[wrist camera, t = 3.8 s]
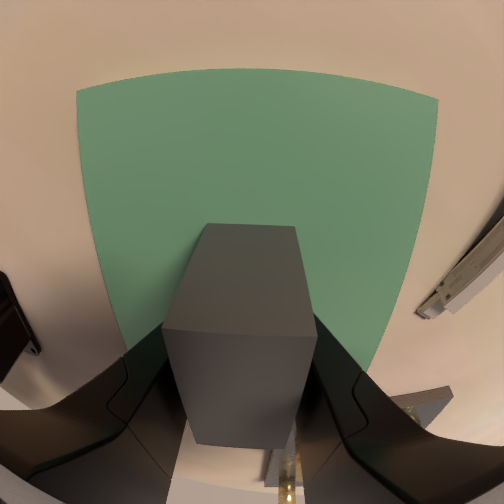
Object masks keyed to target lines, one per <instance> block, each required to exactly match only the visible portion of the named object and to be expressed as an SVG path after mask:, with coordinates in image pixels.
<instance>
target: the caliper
mask: <svg viewBox="0 0 504 504" xmlns="http://www.w3.org/2000/svg"><path fill="white" fill-rule="evenodd" d="M503 270H504V215H503V216H502V217H501V218H500V219H499V220H498V221H497V222H496V224H495V225H494V226H493V227H492V228H491V229H490V230H489V231H488V232H487V233H486V234H485V236H484V237H483V238H482V239H481V240H480V241H479V242H478V243H477V244H476V245H475V246H474V247H473V248H472V249H471V250H470V251H469V252H468V253H467V254H466V255H465V256H464V257H463V258H462V259H461V260H460V261H459V262H458V263H457V264H456V265H455V267H454V268H453V269H452V270H451V272H450V273H449V274H448V275H447V276H446V278H445V279H444V280H443V281H442V282H441V283H440V285H439V286H438V287H437V288H436V292H437V293H435V294H434V295H433V296H432V297H430V298H429V299H428V300H427V301H425V302H424V303H423V304H422V305H421V306H420V307H419V308H418V309H417V311H416V312H417V313H419V314H420V315H422V316H423V317H425V318H426V319H428V320H429V319H431V318H432V319H434V318H436V317H437V316H438V315H440V314H441V313H442V312H444V311H445V310H446V309H447V310H448V311H450V312H451V313H452V314H454V313H456V312H457V311H458V310H459V309H461V308H462V307H463V306H464V305H465V304H467V303H468V302H469V301H470V300H471V299H472V298H474V297H475V296H476V295H477V294H478V293H479V292H480V291H482V290H483V289H484V288H485V287H486V286H487V285H488V284H489V283H490V282H491V281H492V280H494V279H495V278H496V277H497V276H498V275H499V274H500V273H501V272H502V271H503Z"/></svg>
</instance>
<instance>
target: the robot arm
mask: <svg viewBox="0 0 504 504" xmlns="http://www.w3.org/2000/svg"><path fill="white" fill-rule="evenodd" d="M313 314H314V319H315V325H316V330H317V335H318V337H317V341H316V345H315V349H314V353H313V357H312V361H311V365H310V369H309V372H308V376H307V379H306V383H305V387H304V390H303V394H302V397H301V400H300V404H299V407H298V410H297V414H296V417H295V422H296V430H297V438H298V445H299V453H300V462H301V470H302V478H303V487H304V488H305V489H304V496H305V504H504V446H490V445H482V444H475V443H469V442H463V441H458V440H452V439H447V438H442V437H439V436H436V435H434V434H432V433H430V432H428V431H427V430H425V429H424V428H423V427H421V426H420V425H419V424H418V423H417V422H416V421H415V420H413V419H412V418H411V417H410V416H409V415H408V414H407V413H406V412H405V411H404V410H402V409H401V408H400V407H399V406H398V405H397V404H396V403H395V402H394V401H393V400H392V399H390V398H389V397H388V396H387V395H386V394H385V393H384V392H383V391H382V390H381V389H380V388H379V387H378V385H377V384H376V383H375V382H374V381H373V380H372V379H371V378H370V377H369V376H368V374H367V373H366V372H365V371H364V370H362V368H361V366H360V365H359V364H358V363H357V362H356V361H355V359H354V358H353V357H352V356H351V355H350V354H349V353H348V351H347V350H346V349H345V348H344V347H343V346H342V344H341V343H340V342H339V341H338V340H337V339H336V338H335V336H334V335H333V334H332V333H331V332H330V331H329V330H328V328H327V327H326V326H325V325H324V324H323V323H322V322H321V320H320V319H319V318H318V317H317V316H316V315H315V313H314V312H313ZM163 322H164V321H163ZM163 322H162V323H160V324H159V325H158V326H157V327H156V328H154V329H153V330H152V331H151V332H150V333H149V334H147V335H146V336H145V337H144V338H143V339H141V340H140V341H139V342H138V343H137V344H136V345H134V346H133V347H132V348H131V349H130V350H129V351H127V352H126V353H125V354H124V355H123V357H120V358H119V359H118V360H117V361H115V362H114V363H113V364H112V365H111V366H109V367H108V368H107V369H106V370H104V371H103V372H102V373H101V374H99V375H98V376H96V377H95V378H94V379H92V380H91V381H89V382H88V383H86V384H85V385H84V386H82V387H81V388H79V389H78V390H76V391H75V392H73V393H72V394H70V395H69V396H67V397H66V398H64V399H63V400H61V401H60V402H58V403H56V404H55V405H53V406H50V407H48V408H45V409H39V410H0V504H166V500H167V496H168V492H169V488H170V484H171V479H172V475H173V471H174V467H175V463H176V459H177V456H178V452H179V448H180V444H181V440H182V436H183V432H184V428H185V424H186V421H187V415H186V412H185V409H184V406H183V403H182V400H181V397H180V394H179V391H178V388H177V384H176V381H175V378H174V374H173V371H172V367H171V364H170V360H169V357H168V353H167V349H166V345H165V341H164V337H163V333H162V329H161V327H162V325H163ZM23 351H24V352H27V353H30V354H32V355H35V356H39V354H40V353H41V348H40V347H39V345H38V343H37V341H36V339H35V338H34V336H33V334H32V332H31V330H30V328H29V326H28V324H27V323H26V321H25V319H24V317H23V314H22V312H21V310H20V308H19V306H18V304H17V302H16V299H15V297H14V295H13V293H12V290H11V288H10V286H9V283H8V281H7V278H6V276H5V275H4V274H3V273H2V272H1V271H0V384H1V383H2V382H3V381H4V379H5V378H6V376H7V374H8V373H9V371H10V370H11V368H12V367H13V365H14V364H15V362H16V361H17V359H18V358H19V356H20V355H21V353H22V352H23Z"/></svg>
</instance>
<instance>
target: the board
mask: <svg viewBox="0 0 504 504" xmlns="http://www.w3.org/2000/svg"><path fill="white" fill-rule="evenodd" d="M437 113H438V99H436V98H432V97H429V96H426V95H423V94H419V93H416V92H413V91H409V90H405V89H401V88H398V87H394V86H389V85H385V84H381V83H376V82H371V81H366V80H361V79H356V78H350V77H344V76H337V75H330V74H323V73H314V72H305V71H293V70H278V69H208V70H193V71H182V72H172V73H164V74H156V75H149V76H143V77H137V78H131V79H125V80H120V81H115V82H111V83H106V84H102V85H98V86H93V87H90V88H86V89H82V90H78V91H77V123H78V138H79V150H80V159H81V168H82V176H83V183H84V190H85V196H86V202H87V208H88V214H89V219H90V224H91V229H92V234H93V238H94V243H95V247H96V251H97V255H98V259H99V263H100V267H101V271H102V275H103V278H104V282H105V285H106V289H107V292H108V295H109V299H110V302H111V305H112V308H113V311H114V314H115V317H116V320H117V323H118V326H119V329H120V332H121V334H122V337H123V340H124V343H125V345H126V348H127V350H128V351H129V350H130V349H131V348H132V347H133V346H134V345H136V344H137V343H138V342H139V341H140V340H141V339H143V338H144V337H145V336H146V335H147V334H149V333H150V332H151V331H152V330H153V329H154V328H156V327H157V326H158V325H159V324H160V323H162V322H163V321H164V322H163V325H162V327H161V329H162V333H163V337H164V341H165V345H166V349H167V353H168V357H169V360H170V364H171V367H172V371H173V374H174V378H175V381H176V384H177V388H178V391H179V394H180V397H181V400H182V403H183V406H184V409H185V412H186V415H187V418H188V421H189V424H190V427H191V430H192V432H193V435H194V438H195V441H196V443H197V444H203V445H211V446H221V447H233V448H250V449H285V447H286V444H287V441H288V438H289V435H290V432H291V429H292V426H293V423H294V420H295V417H296V414H297V410H298V407H299V404H300V400H301V397H302V394H303V390H304V387H305V383H306V379H307V376H308V372H309V369H310V365H311V361H312V357H313V353H314V349H315V345H316V341H317V337H318V335H317V330H316V325H315V319H314V314H313V312H314V313H315V315H316V316H317V317H318V318H319V319H320V320H321V322H322V323H323V324H324V325H325V326H326V327H327V328H328V330H329V331H330V332H331V333H332V334H333V335H334V336H335V338H336V339H337V340H338V341H339V342H340V343H341V344H342V346H343V347H344V348H345V349H346V350H347V351H348V353H349V354H350V355H351V356H352V357H353V358H354V359H355V361H356V362H357V363H358V364H359V365H360V366H361V368H362V370H364V371H365V372H367V370H368V368H369V366H370V364H371V361H372V359H373V357H374V355H375V353H376V350H377V348H378V346H379V343H380V341H381V339H382V336H383V334H384V332H385V329H386V327H387V324H388V322H389V319H390V317H391V314H392V311H393V309H394V306H395V303H396V300H397V298H398V295H399V292H400V289H401V286H402V283H403V280H404V277H405V274H406V271H407V268H408V264H409V261H410V258H411V254H412V251H413V247H414V244H415V240H416V236H417V232H418V228H419V224H420V220H421V216H422V212H423V207H424V203H425V198H426V193H427V188H428V182H429V177H430V171H431V165H432V158H433V151H434V143H435V134H436V124H437Z"/></svg>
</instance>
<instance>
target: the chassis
mask: <svg viewBox="0 0 504 504" xmlns="http://www.w3.org/2000/svg"><path fill="white" fill-rule="evenodd" d="M453 397H454V396H453V394H452V391H451V389H450V387H449V386H446V387H442V388H438V389H433V390H428V391H423V392H418V393H413V394H407V395H401V396H395V397H389V398H390V399H392V400H393V401H394V402H395V403H396V404H397V405H398V406H399V407H400V408H401V409H402V410H404V411H405V412H406V413H407V414H408V415H409V416H410V417H411V418H412V419H413V420H415V421H416V422H417V423H418V424H419V425H420V426H421V427H423V428H424V429H425V428H426V427H427V426H428V425H429V424H430V423H431V422H432V421H433V420H434V419H435V417H436V416H437V415H438V414H439V413H440V412H441V411H442V410H443V409H444V407H445V406H446V405H447V404H448V403H449V402H450V400H451V399H452V398H453ZM297 486H303V478H302V470H301V462H300V453H299V445H298V438H297V430H296V422H295V420H294V423H293V426H292V429H291V432H290V435H289V438H288V441H287V444H286V447H285V449H272V452H271V456H270V460H269V464H268V468H267V472H266V476H265V481H264V487H279V503H278V504H296V500H295V487H297Z"/></svg>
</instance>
